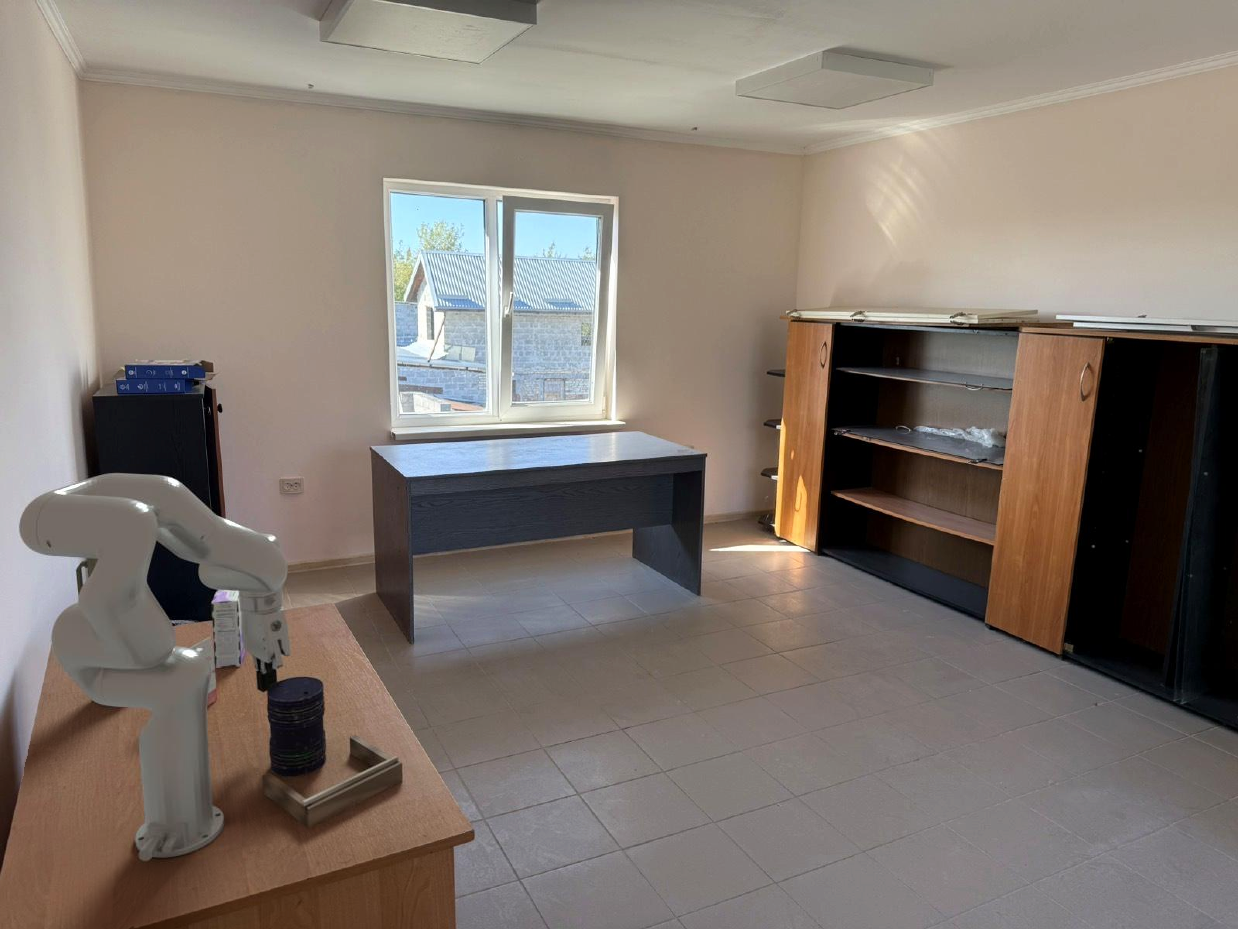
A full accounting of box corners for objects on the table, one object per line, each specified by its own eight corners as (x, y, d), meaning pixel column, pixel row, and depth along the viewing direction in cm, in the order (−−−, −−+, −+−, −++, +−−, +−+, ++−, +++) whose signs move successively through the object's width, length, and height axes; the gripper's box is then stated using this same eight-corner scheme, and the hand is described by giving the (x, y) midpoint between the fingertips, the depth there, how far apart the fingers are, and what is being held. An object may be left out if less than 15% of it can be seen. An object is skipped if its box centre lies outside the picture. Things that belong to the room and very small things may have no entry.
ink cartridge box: (197, 697, 176) (193, 633, 173) (217, 700, 175) (213, 635, 172) (168, 716, 167) (163, 649, 165) (189, 719, 166) (184, 652, 164)
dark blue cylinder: (258, 766, 151) (254, 691, 148) (302, 743, 159) (299, 671, 156) (294, 784, 146) (290, 706, 143) (338, 759, 154) (335, 685, 152)
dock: (263, 793, 143) (262, 771, 142) (355, 751, 157) (354, 731, 156) (309, 828, 134) (308, 805, 133) (402, 780, 148) (402, 759, 147)
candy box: (223, 645, 202) (219, 581, 199) (249, 643, 204) (245, 580, 200) (214, 669, 189) (209, 601, 186) (242, 666, 191) (238, 599, 188)
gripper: (301, 604, 152) (306, 694, 156) (260, 584, 161) (266, 669, 165) (262, 616, 147) (269, 709, 151) (222, 594, 156) (229, 682, 160)
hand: (267, 688), depth 158 cm, fingers closed
